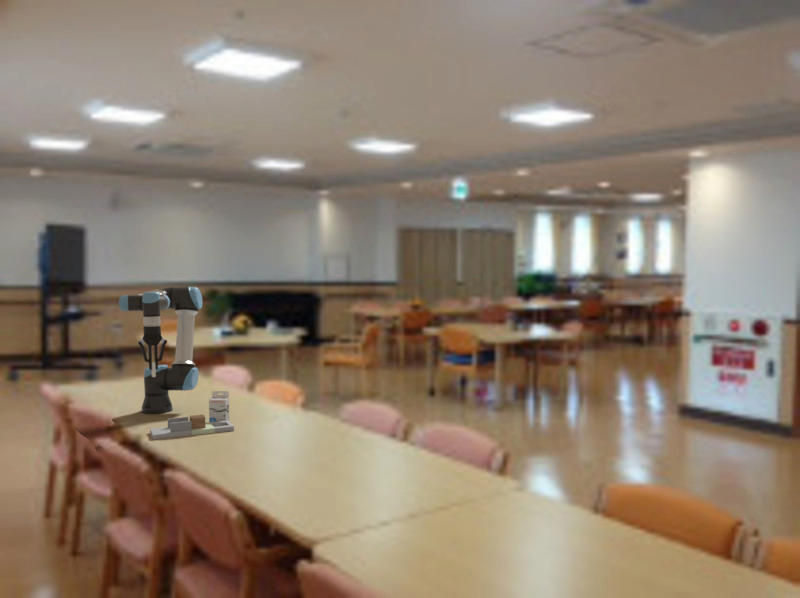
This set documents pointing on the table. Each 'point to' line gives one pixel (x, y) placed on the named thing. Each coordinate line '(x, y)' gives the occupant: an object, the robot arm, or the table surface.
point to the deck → (188, 428)
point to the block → (197, 421)
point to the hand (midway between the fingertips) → (153, 376)
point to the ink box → (219, 406)
